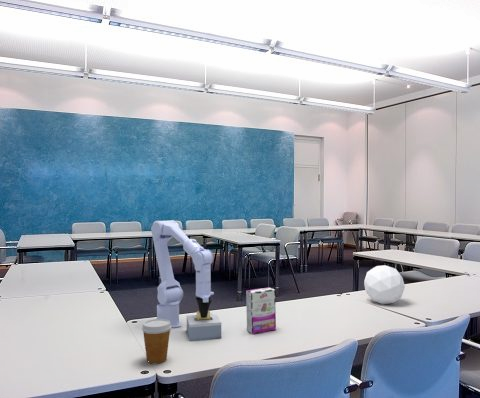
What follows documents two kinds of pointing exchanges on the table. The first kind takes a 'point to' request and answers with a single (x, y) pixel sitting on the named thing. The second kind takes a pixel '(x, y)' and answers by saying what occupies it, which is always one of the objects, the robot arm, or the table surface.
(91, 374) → the table surface
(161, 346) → the disposable coffee cup
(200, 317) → the block
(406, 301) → the table surface
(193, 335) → the coin box
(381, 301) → the polyhedron
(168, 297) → the robot arm
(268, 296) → the candy bar box
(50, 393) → the table surface
